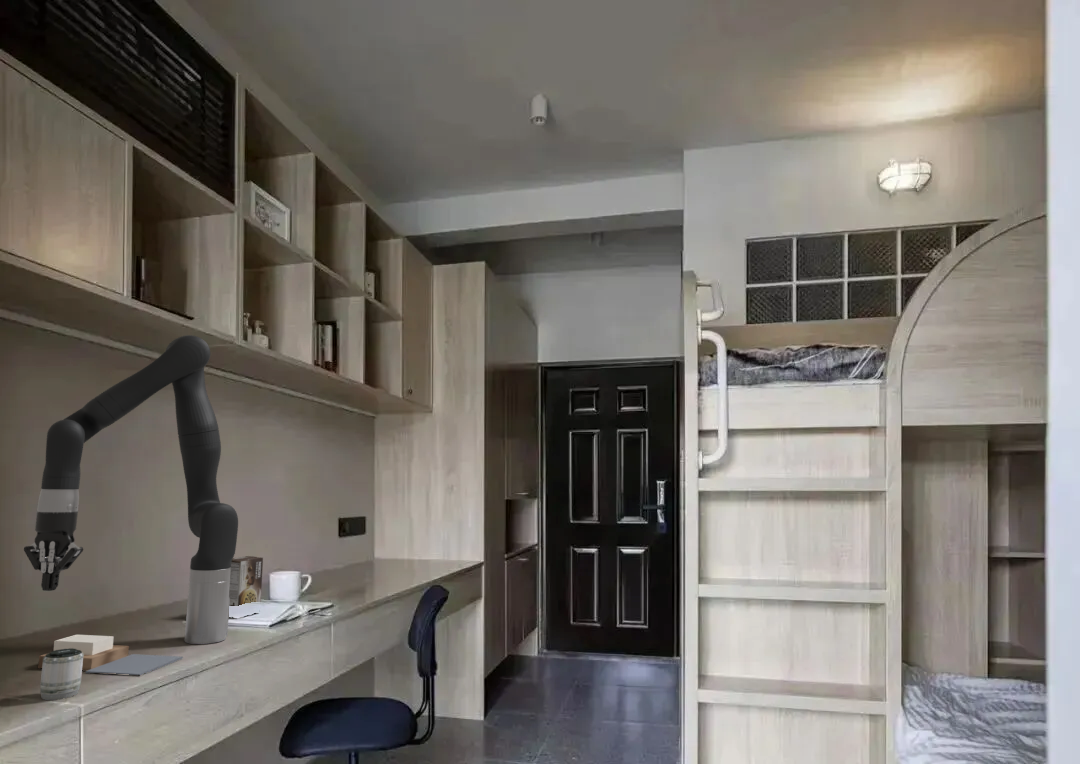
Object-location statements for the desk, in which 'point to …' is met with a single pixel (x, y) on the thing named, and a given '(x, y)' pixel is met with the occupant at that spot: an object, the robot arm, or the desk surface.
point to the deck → (99, 657)
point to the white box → (85, 643)
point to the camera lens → (61, 674)
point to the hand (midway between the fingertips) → (49, 590)
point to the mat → (135, 664)
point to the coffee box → (245, 580)
